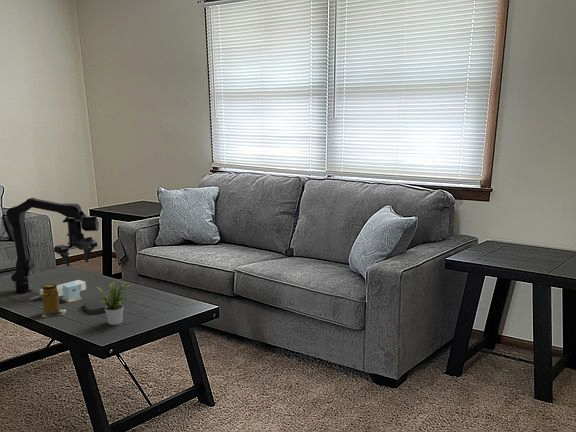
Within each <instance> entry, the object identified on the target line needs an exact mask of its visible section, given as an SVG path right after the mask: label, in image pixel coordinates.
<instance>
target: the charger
mask: <svg viewBox="0 0 576 432" xmlns="http://www.w3.org/2000/svg"><path fill="white" fill-rule="evenodd" d="M62 287H63V297H62V298H64V299H66V300H69V301H70V300H74V299H77V298H80V297H81V291H79V285H78V284H75V283H70V284H66V285H62Z"/></svg>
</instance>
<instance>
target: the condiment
mask: <svg viewBox="0 0 576 432" xmlns="http://www.w3.org/2000/svg"><path fill="white" fill-rule="evenodd" d="M57 285H58V284H55V283H48V284H44V285H43V286H42V289H43V293H42V298H41V299H42V306H43V307H42V309H43V314H42V315H41V318H47V317H48V318H49V317H50V318H51V317H57V316H58V317H59V316H65V314H66V311H67V309H61V308H60V296H58V291H57Z"/></svg>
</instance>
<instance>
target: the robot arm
mask: <svg viewBox="0 0 576 432" xmlns="http://www.w3.org/2000/svg"><path fill="white" fill-rule="evenodd" d="M32 208H33V209H39V210H43V211H49V212H54V213H58V214H60V215H62V216H63V217H65V218H64V219H63V220H62V223H67V232H68V233H66V236H67V237H68V242H67V245H65V244H59V245H55V246H54V247H53V252H54V253H55V254H57V255H59V256H60V257H61V258H62V260H63V262H64V263H65V265H66V267H68V268H69V267H70V260H69V255H70V252H69V250H76V249H78V250H80V251H82V250H83V256H84V260H85V261H84V262H85V263H86V264H87V263H88V262H89V258H90V256H91V253H92V251H93V250H95V248H97V247H98V241H96V240H95V239H93V237H92V236H89V237H85V235H84V233H83V231H84V232H98V231H99V228H100V225H99V224H100V222H99V220H98V217H97V215H93V216H88V215H86V214H85V213H84V211H83V210H82V207H81V206H80V204H78V203H69V202H68V203H59V202H54V201H50V200H43V199H38V198H36V197H30V198H27V199H26V200H25V201H23V202H21V203H20V204H18V205H15V206H12V207H9V208H8V209H7V210H6V212H5V214H6V219H7V221H8V223H9V225H10V226H11V228H12V234H13V239H14V245H15V250H16V251H15V252H16V257H17V259H16V262H15V272H14V273H13V274H12V275H11V276H10V279H11V281H12V282H14V289H12V293H15V294H18V295H20V294H25V293H28V292H32V291H33V289H32V288H30V285H29V284H30V283H29V276H30V275H31V273H32V272H33V271H34V269H35V267H36V264H35V262H34V261H35V260H34V257H32V258H31V257H30V256H29V252H28V245H27V241H26V235H25V227H24V223H25V219H26V212H28V211H29V210H31V209H32ZM82 230H83V231H82Z"/></svg>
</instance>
